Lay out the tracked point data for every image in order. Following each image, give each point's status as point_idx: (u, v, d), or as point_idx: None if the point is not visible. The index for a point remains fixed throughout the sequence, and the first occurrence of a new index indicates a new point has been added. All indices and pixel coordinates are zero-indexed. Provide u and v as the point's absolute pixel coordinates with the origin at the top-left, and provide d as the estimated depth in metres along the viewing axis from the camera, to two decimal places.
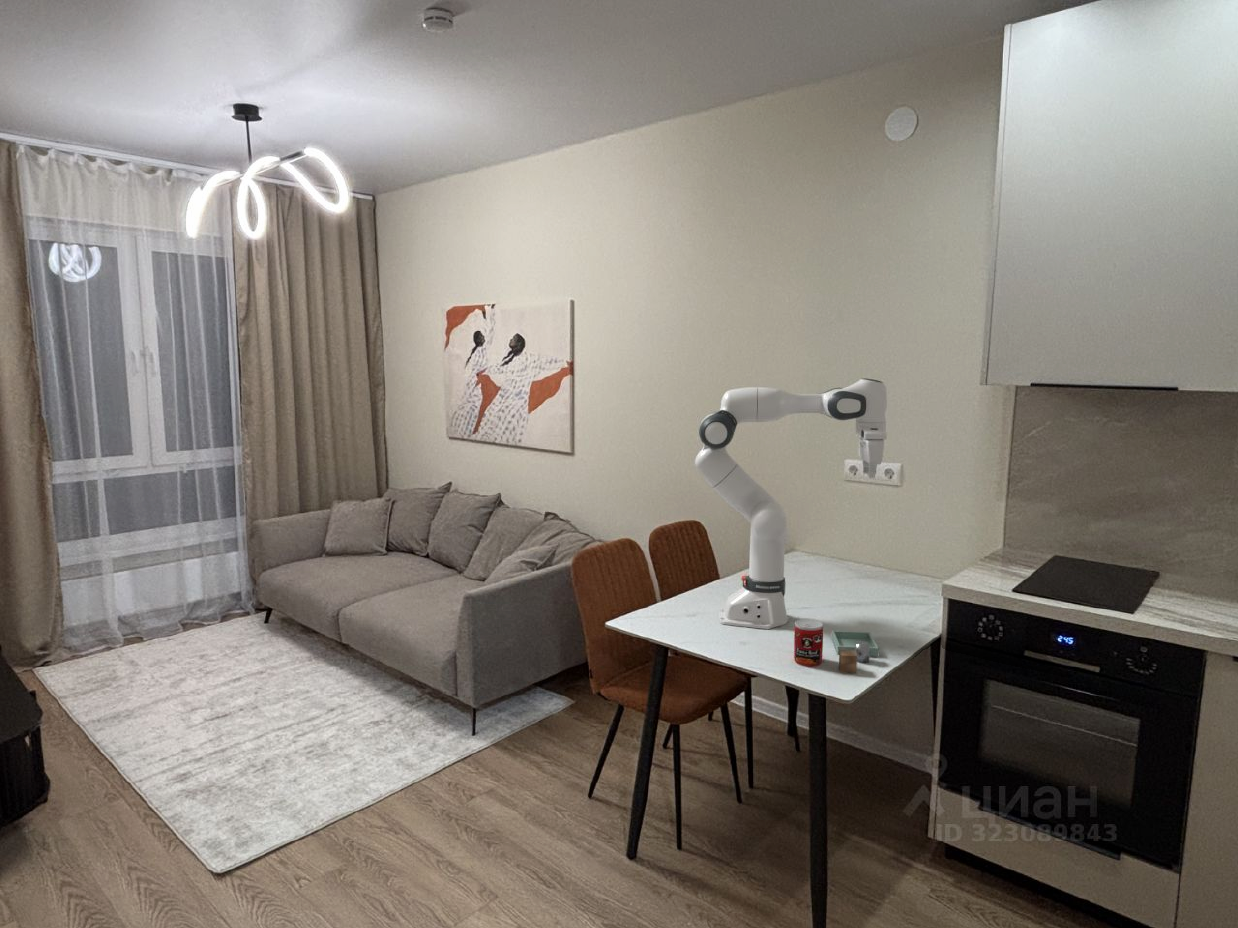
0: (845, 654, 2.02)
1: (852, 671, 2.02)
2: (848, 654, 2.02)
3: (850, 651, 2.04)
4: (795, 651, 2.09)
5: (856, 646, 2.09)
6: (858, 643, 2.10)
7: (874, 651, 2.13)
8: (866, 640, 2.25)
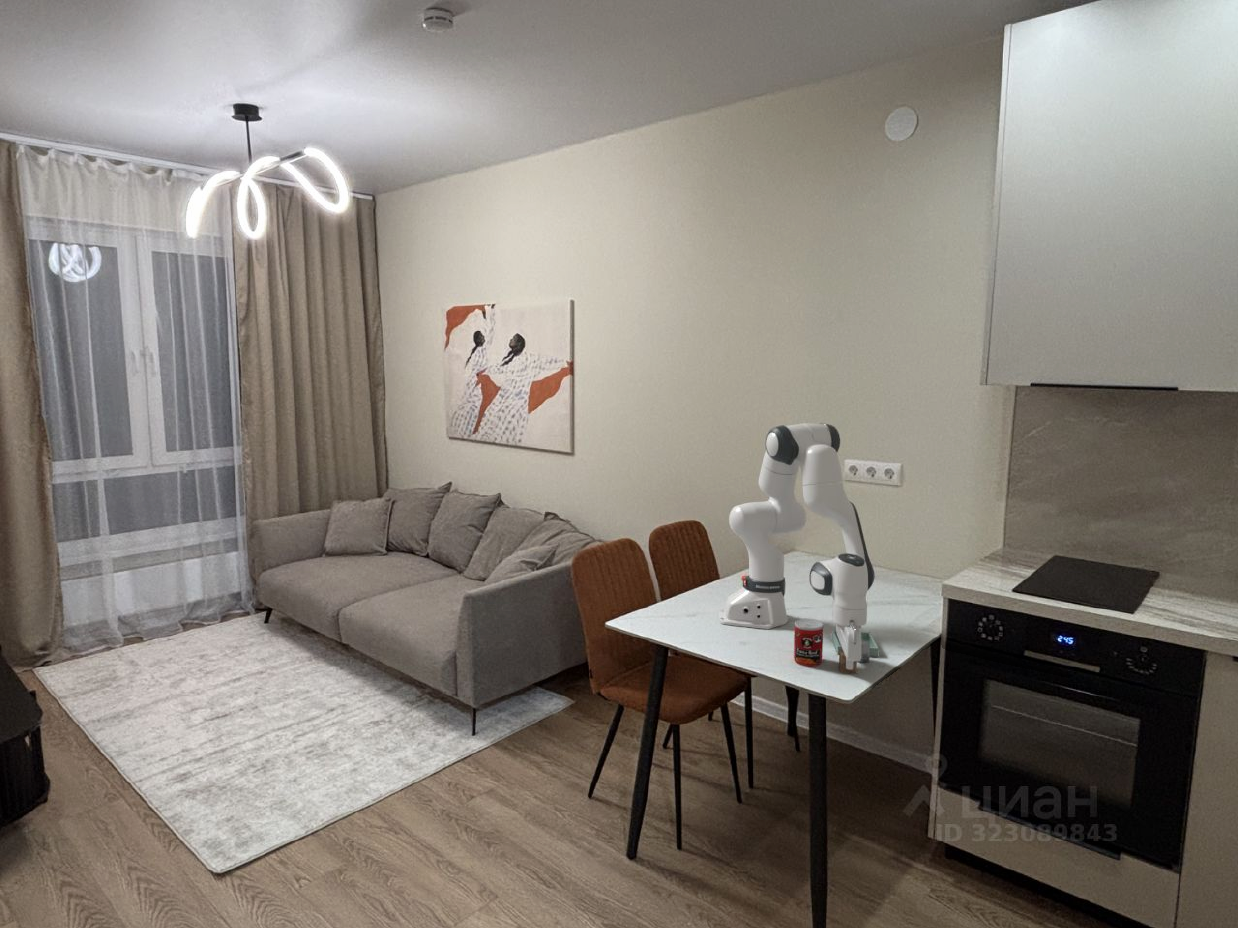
0: None
1: (852, 671, 2.02)
2: None
3: None
4: (795, 651, 2.09)
5: None
6: None
7: (874, 651, 2.13)
8: (866, 640, 2.25)
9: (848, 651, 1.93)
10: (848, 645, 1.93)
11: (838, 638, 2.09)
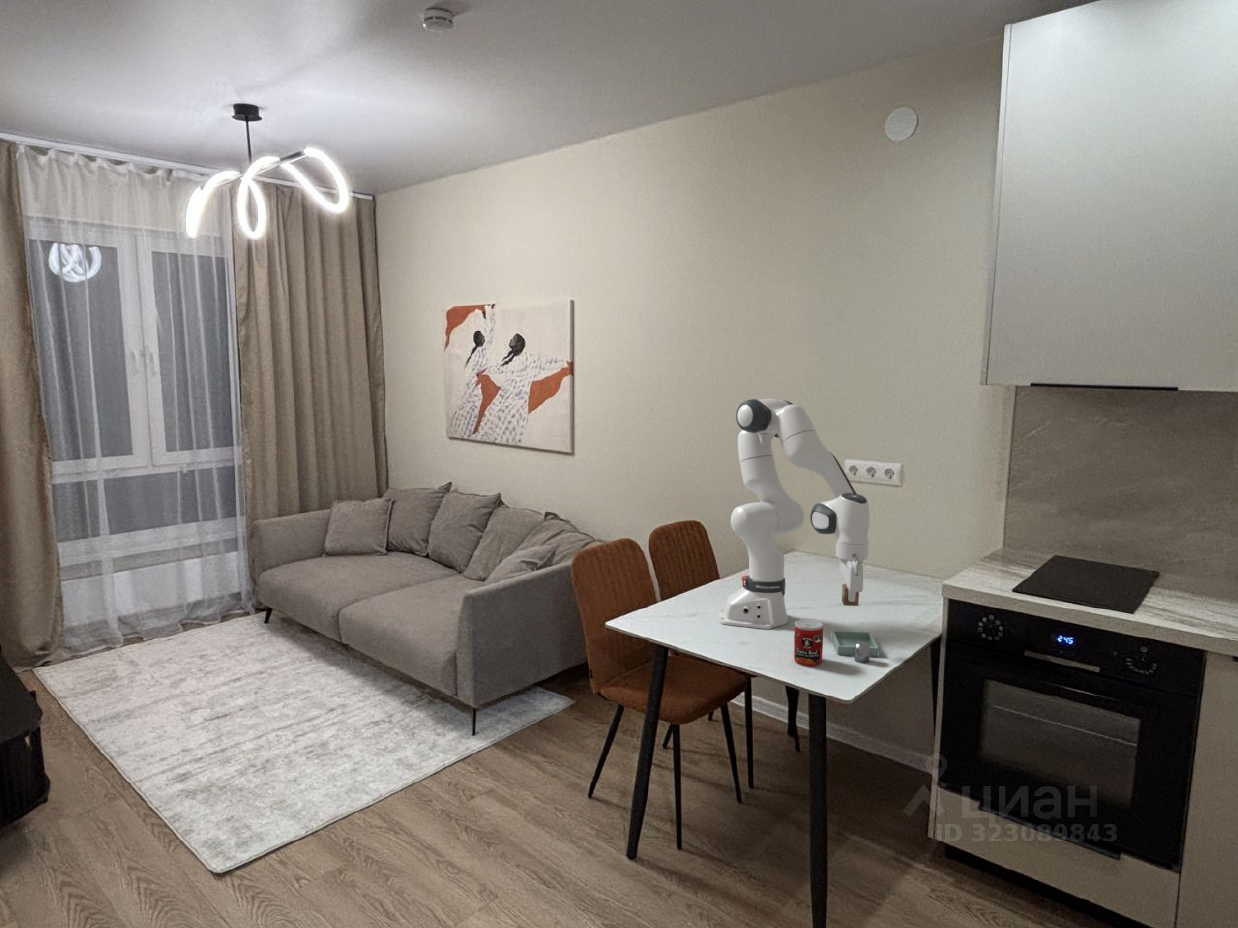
0: None
1: (854, 603, 2.14)
2: None
3: None
4: (795, 651, 2.09)
5: (856, 646, 2.09)
6: (858, 643, 2.10)
7: (874, 651, 2.13)
8: (866, 640, 2.25)
9: (850, 582, 2.05)
10: (850, 576, 2.05)
11: (841, 574, 2.21)
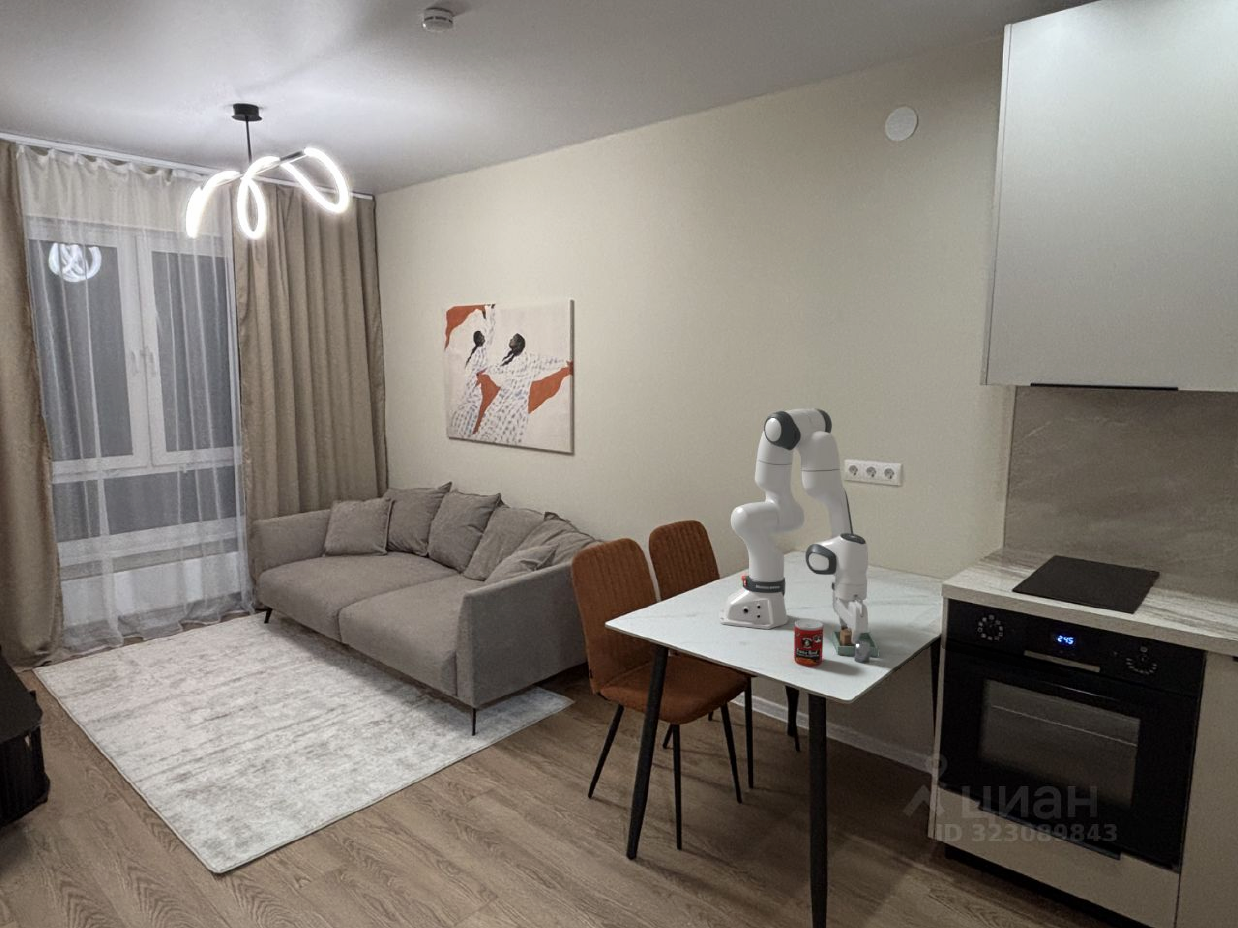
0: (848, 634, 2.16)
1: None
2: (850, 633, 2.16)
3: (850, 631, 2.18)
4: (795, 651, 2.09)
5: (856, 646, 2.09)
6: (858, 643, 2.10)
7: (874, 651, 2.13)
8: (866, 640, 2.25)
9: (856, 624, 2.06)
10: (856, 618, 2.06)
11: (837, 613, 2.22)
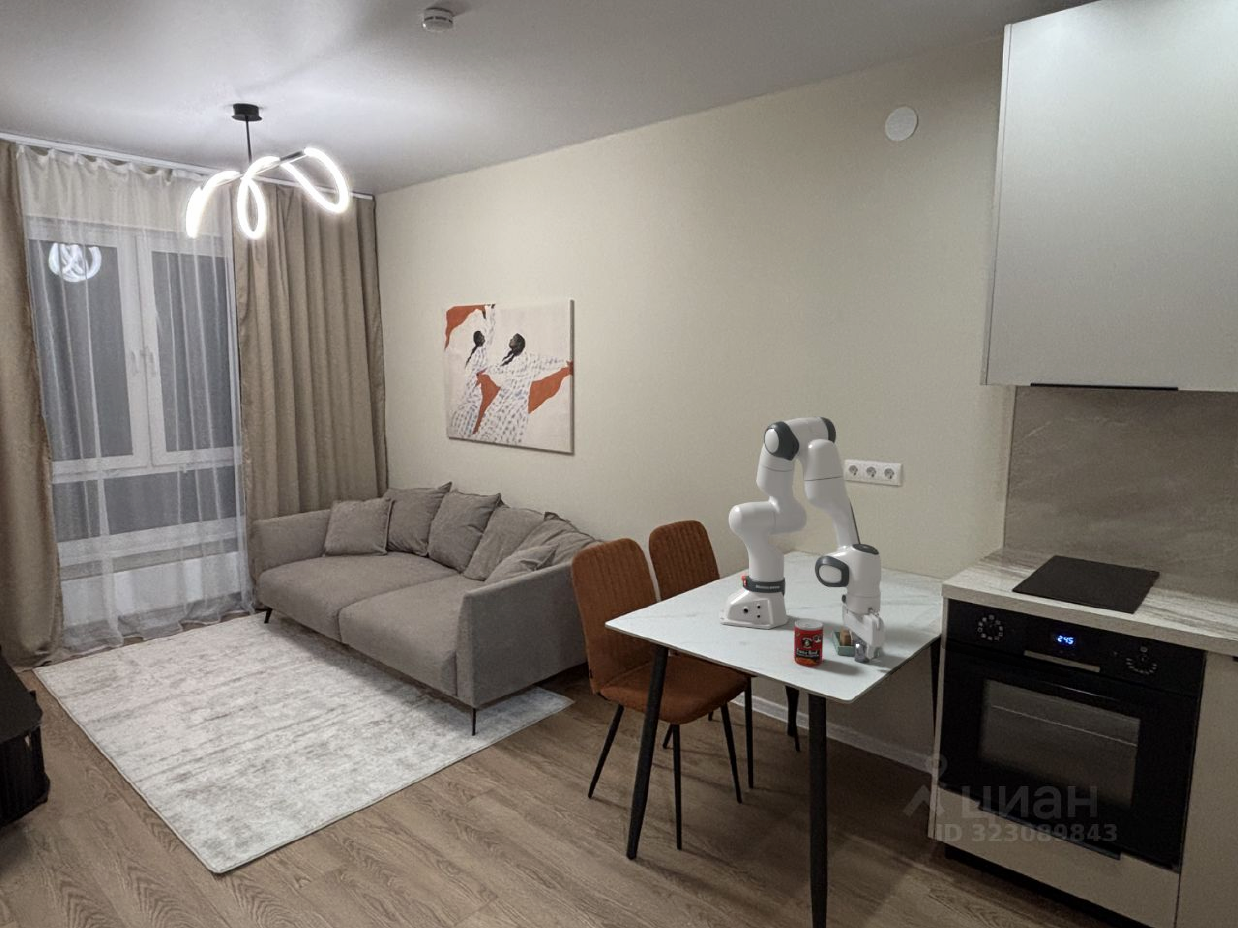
0: (848, 634, 2.16)
1: None
2: None
3: None
4: (795, 651, 2.09)
5: (856, 646, 2.09)
6: (858, 643, 2.10)
7: (874, 651, 2.13)
8: None
9: (873, 638, 1.99)
10: (872, 632, 1.99)
11: (848, 627, 2.15)
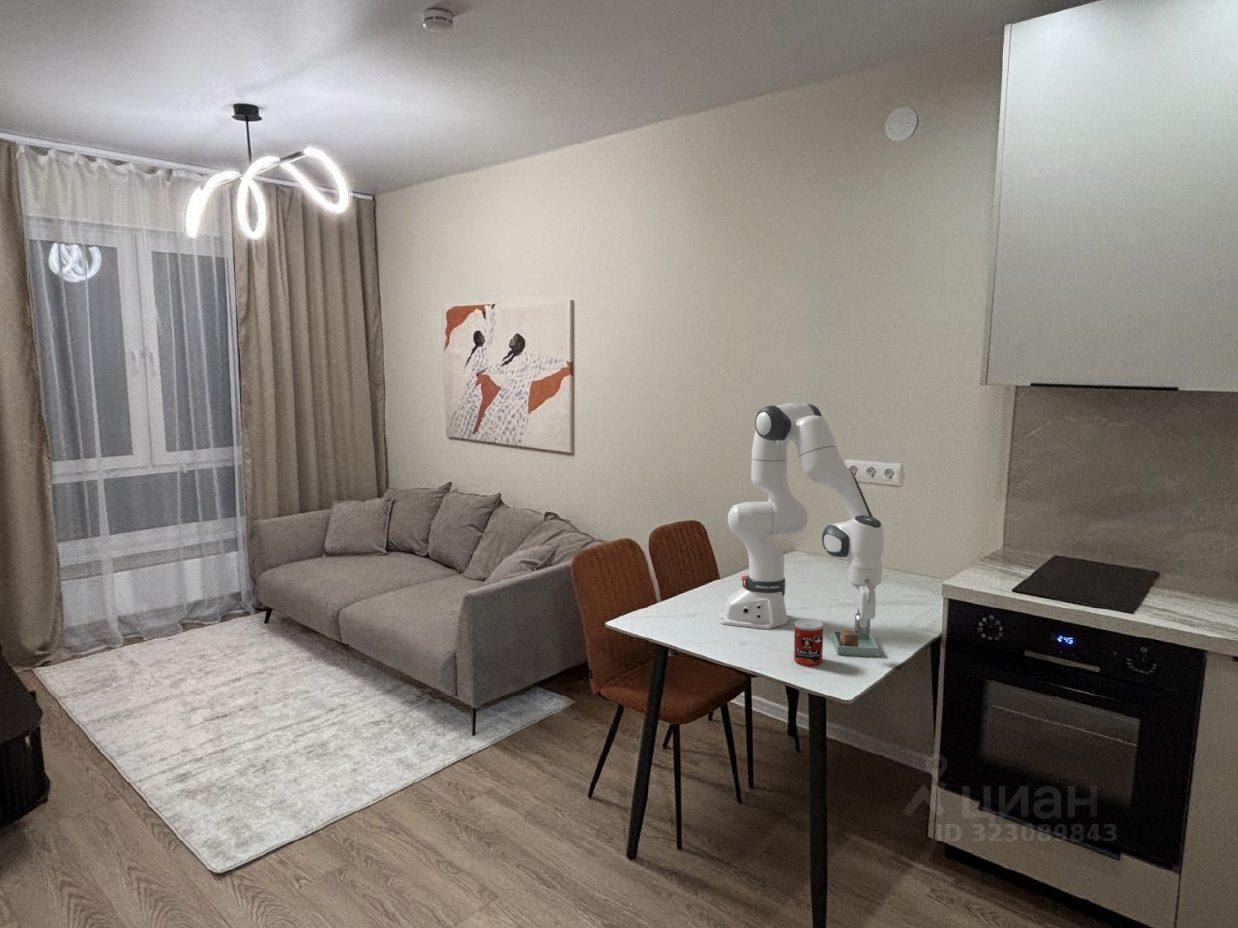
0: (848, 634, 2.16)
1: None
2: (850, 633, 2.16)
3: (850, 631, 2.18)
4: (795, 651, 2.09)
5: (855, 617, 2.10)
6: (858, 614, 2.10)
7: (874, 651, 2.13)
8: (866, 640, 2.25)
9: (862, 609, 1.99)
10: (862, 603, 1.99)
11: None
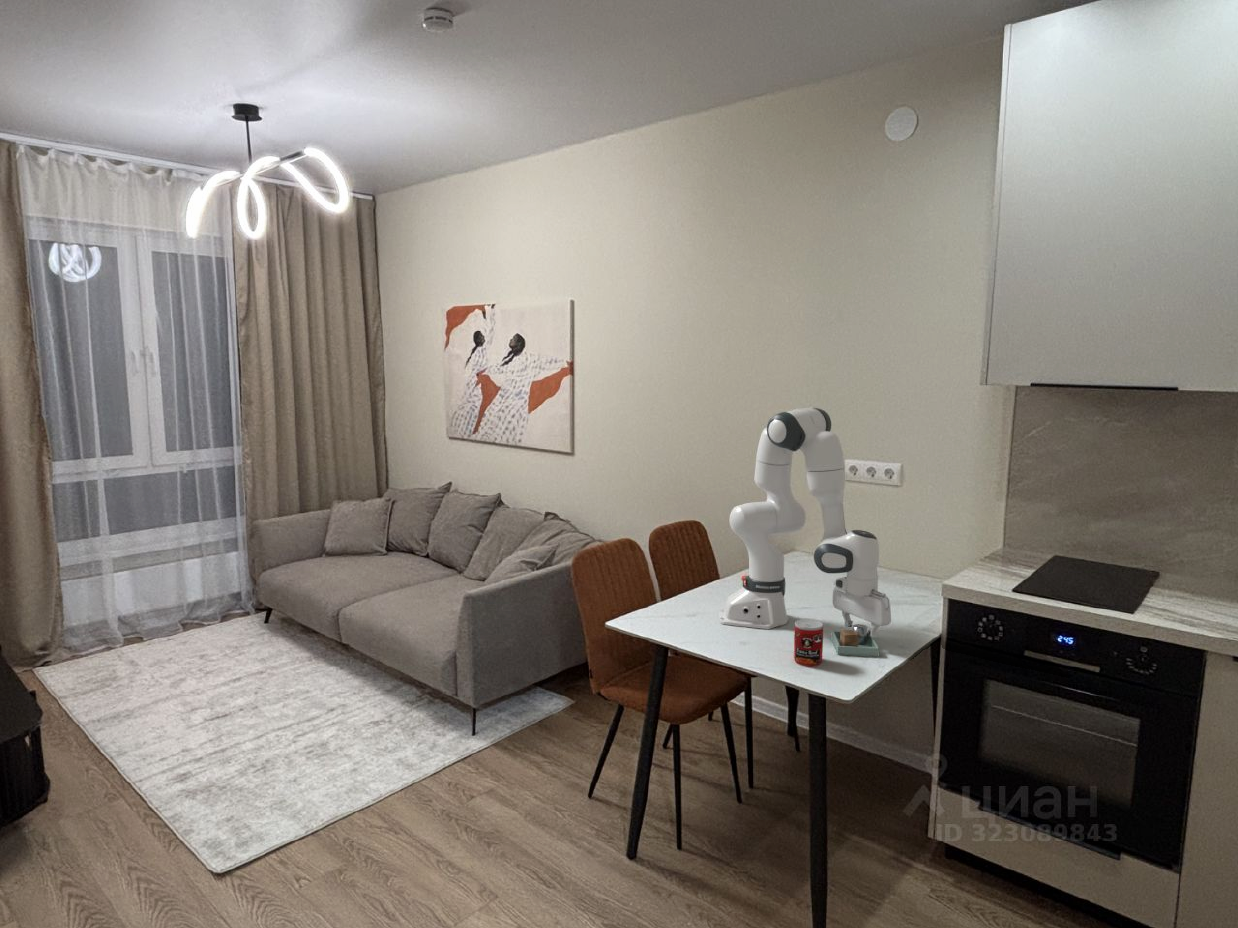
0: (848, 634, 2.16)
1: None
2: (850, 633, 2.16)
3: (850, 631, 2.18)
4: (795, 651, 2.09)
5: (856, 629, 2.21)
6: (857, 626, 2.22)
7: (874, 651, 2.13)
8: None
9: (882, 617, 2.12)
10: (882, 612, 2.12)
11: (842, 609, 2.26)
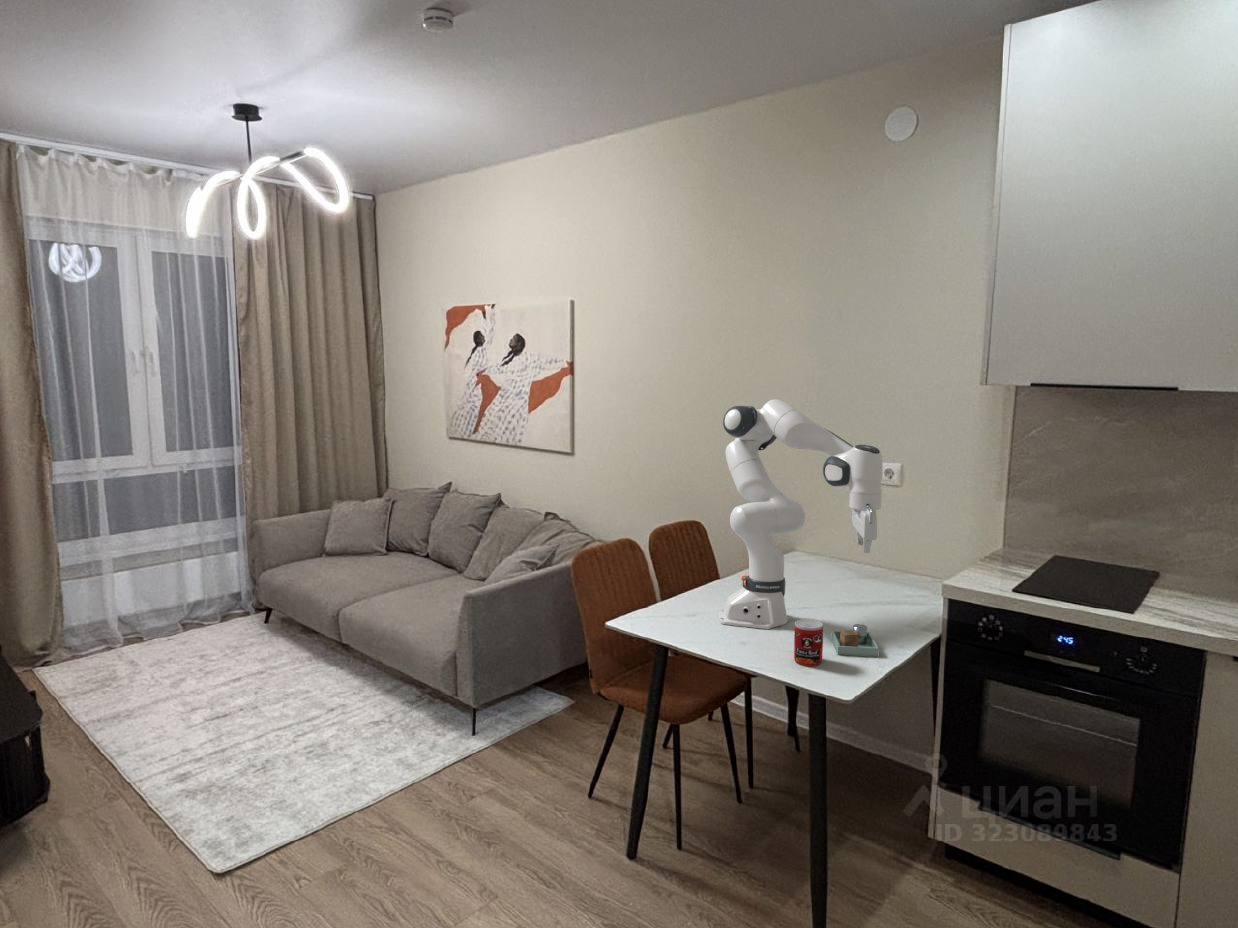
0: (848, 634, 2.16)
1: None
2: (850, 633, 2.16)
3: (850, 631, 2.18)
4: (795, 651, 2.09)
5: (856, 629, 2.21)
6: (857, 626, 2.22)
7: (874, 651, 2.13)
8: None
9: (864, 530, 2.08)
10: (864, 525, 2.09)
11: None
